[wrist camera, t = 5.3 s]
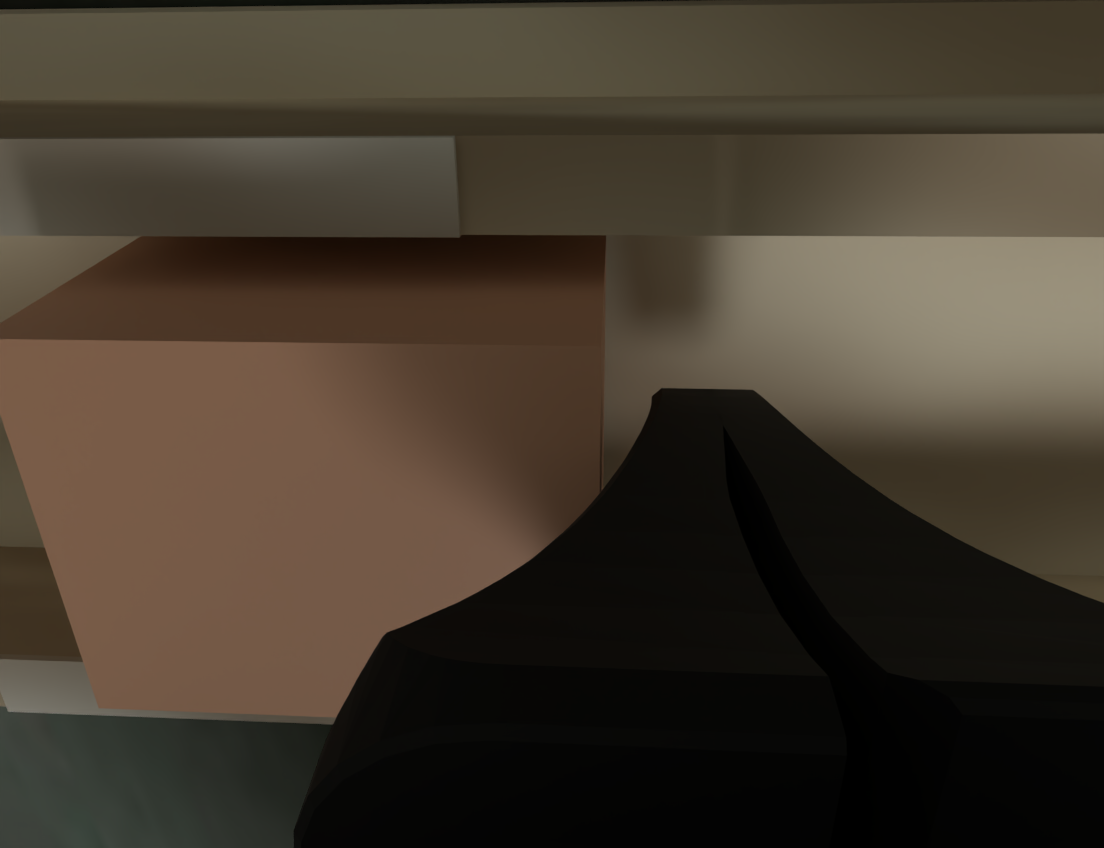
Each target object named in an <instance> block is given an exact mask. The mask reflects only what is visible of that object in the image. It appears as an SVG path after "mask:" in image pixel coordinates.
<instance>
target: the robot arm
mask: <svg viewBox="0 0 1104 848" xmlns="http://www.w3.org/2000/svg"><path fill="white" fill-rule="evenodd" d="M294 848H1104V603H1103V602H1100V601H1097V600H1095V599H1092V598H1089V597H1086V596H1084V595H1081V594H1079V593H1076V592H1074V591H1071V590H1069V589H1066V588H1064V587H1061V586H1059V585H1056V584H1054V583H1051V582H1049V581H1046V580H1044V579H1041V578H1039V577H1037V576H1035V575H1033V574H1030V573H1028V572H1026V571H1024V570H1022V569H1019V568H1017V567H1015V566H1013V565H1011V564H1008V563H1006V562H1004V561H1002V560H1000V559H997V558H995V557H993V556H991V555H989V554H986V553H984V552H982V551H980V550H979V549H977V548H975V547H973V546H971V545H969V544H967V543H965V542H963V541H961V540H959V539H957V538H955V537H953V536H952V535H950V534H948V533H946V532H945V531H943V530H941V529H939V528H938V527H936V526H934V525H932V524H931V523H929V522H927V521H925V520H924V519H922V518H920V517H918V516H917V515H915V514H913V513H911V512H910V511H908V510H907V509H905V508H903V507H902V506H900V505H899V504H897V503H895V502H894V501H892V500H891V499H889V498H888V497H886V496H885V495H883V494H882V493H881V492H879V491H878V490H876V489H875V488H874V487H872V486H871V485H869V484H868V483H866V482H865V481H864V480H862V479H861V478H859V477H858V476H857V475H855V474H854V473H852V472H851V471H850V470H848V469H847V468H846V467H845V466H843V465H842V464H841V463H839V462H838V461H837V460H835V459H834V458H833V457H832V456H830V455H829V454H828V453H827V452H825V451H824V450H823V449H822V448H821V447H819V446H818V445H817V444H816V443H815V442H813V441H812V440H811V439H810V438H809V437H807V436H806V435H805V434H804V433H803V432H802V431H800V430H799V429H798V428H797V427H796V426H795V425H794V424H792V423H791V422H790V421H789V420H788V419H787V418H786V417H784V416H783V415H782V414H781V413H780V412H779V411H778V410H777V409H776V408H774V407H773V406H772V405H771V404H770V403H769V402H768V401H766V400H765V399H764V398H763V397H762V396H761V395H759V394H758V393H757V392H755V391H754V390H744V389H688V388H661V389H660V390H659V391H657V392H656V393H655V394H654V395H653V396H652V400H651V408H650V412H649V414H648V417H647V419H646V421H645V424H644V426H643V428H642V430H641V432H640V434H639V436H638V437H637V439H636V441H635V443H634V444H633V446H632V448H631V450H630V451H629V453H628V455H627V456H626V458H625V460H624V461H623V463H622V464H621V465H620V467H619V468H618V470H617V471H616V472H615V474H614V475H613V476H612V478H611V479H610V480H609V482H608V483H607V484H606V486H605V487H604V488H603V490H602V491H601V492H600V494H599V495H598V496H597V497H596V498H595V500H594V501H593V502H592V503H591V504H590V505H589V506H588V508H587V509H586V510H585V511H584V512H583V513H582V514H581V515H580V516H579V517H578V518H577V519H576V520H575V521H574V522H573V523H572V524H571V525H570V526H569V527H568V528H567V529H566V530H565V531H564V532H563V533H562V534H560V535H559V536H558V537H557V538H556V539H555V540H553V541H552V542H551V543H550V544H549V545H548V546H546V547H545V548H544V549H543V550H542V551H541V552H539V553H538V554H537V555H536V556H535V557H533V558H532V559H531V560H529V561H528V562H526V563H525V564H524V565H522V566H520V567H519V568H517V569H516V570H514V571H513V572H511V573H509V574H508V575H506V576H505V577H503V578H502V579H500V580H498V581H496V582H495V583H493V584H491V585H489V586H488V587H486V588H484V589H482V590H480V591H479V592H477V593H475V594H473V595H471V596H469V597H467V598H465V599H463V600H461V601H460V602H458V603H455V604H453V605H451V606H448V607H446V608H444V609H442V610H439V611H437V612H435V613H432V614H430V615H428V616H426V617H423V618H421V619H419V620H416V621H414V622H412V623H410V624H407V625H405V626H403V627H400V628H397V629H395V630H392V631H389V632H387V633H386V634H385V635H384V636H383V637H382V638H381V640H380V641H379V643H378V645H377V646H376V648H375V649H374V651H373V653H372V654H371V656H370V658H369V659H368V661H367V663H366V665H365V666H364V668H363V670H362V671H361V673H360V675H359V676H358V678H357V680H356V682H355V684H354V686H353V687H352V689H351V691H350V693H349V695H348V697H347V699H346V700H345V702H344V704H343V706H342V707H341V709H340V711H339V713H338V715H337V717H336V719H335V721H334V724H333V726H332V728H331V730H330V732H329V734H328V736H327V739H326V741H325V744H324V747H323V749H322V752H321V755H320V758H319V760H318V763H317V766H316V769H315V772H314V775H313V778H312V780H311V783H310V786H309V789H308V792H307V795H306V797H305V800H304V803H303V806H302V809H301V812H300V815H299V817H298V820H297V823H296V826H295V829H294Z"/></svg>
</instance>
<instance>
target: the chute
mask: <svg viewBox="0 0 1104 848" xmlns="http://www.w3.org/2000/svg"><path fill="white" fill-rule="evenodd" d="M461 235H606V300H605V377H604V454H603V488H604V487H605V486H606V484H607V483H608V482H609V480H610V479H611V478H612V476H613V475H614V474H615V472H616V471H617V470H618V468H619V467H620V465H621V464H622V463H623V461H624V460H625V458H626V456H627V455H628V453H629V451H630V450H631V448H632V446H633V444H634V443H635V441H636V439H637V437H638V436H639V434H640V432H641V430H642V428H643V426H644V424H645V421H646V419H647V417H648V414H649V412H650V408H651V400H652V396H653V395H654V394H655V393H656V392H657V391H659V390H660V389H661V388H688V389H744V390H754V391H755V392H757V393H758V394H759V395H761V396H762V397H763V398H764V399H765V400H766V401H768V402H769V403H770V404H771V405H772V406H773V407H774V408H776V409H777V410H778V411H779V412H780V413H781V414H782V415H783V416H784V417H786V418H787V419H788V420H789V421H790V422H791V423H792V424H794V425H795V426H796V427H797V428H798V429H799V430H800V431H802V432H803V433H804V434H805V435H806V436H807V437H809V438H810V439H811V440H812V441H813V442H815V443H816V444H817V445H818V446H819V447H821V448H822V449H823V450H824V451H825V452H827V453H828V454H829V455H830V456H832V457H833V458H834V459H835V460H837V461H838V462H839V463H841V464H842V465H843V466H845V467H846V468H847V469H848V470H850V471H851V472H852V473H854V474H855V475H857V476H858V477H859V478H861V479H862V480H864V481H865V482H866V483H868V484H869V485H871V486H872V487H874V488H875V489H876V490H878V491H879V492H881V493H882V494H883V495H885V496H886V497H888V498H889V499H891V500H892V501H894V502H895V503H897V504H899V505H900V506H902V507H903V508H905V509H907V510H908V511H910V512H911V513H913V514H915V515H917V516H918V517H920V518H922V519H924V520H925V521H927V522H929V523H931V524H932V525H934V526H936V527H938V528H939V529H941V530H943V531H945V532H946V533H948V534H950V535H952V536H953V537H955V538H957V539H959V540H961V541H963V542H965V543H967V544H969V545H971V546H973V547H975V548H977V549H979V550H980V551H982V552H984V553H986V554H989V555H991V556H993V557H995V558H997V559H1000V560H1002V561H1004V562H1006V563H1008V564H1011V565H1013V566H1015V567H1017V568H1019V569H1022V570H1024V571H1026V572H1028V573H1030V574H1033V575H1035V576H1037V577H1039V578H1041V579H1044V580H1046V581H1049V582H1051V583H1054V584H1056V585H1059V586H1061V587H1064V588H1066V589H1069V590H1071V591H1074V592H1076V593H1079V594H1081V595H1084V596H1086V597H1089V598H1092V599H1095V600H1097V601H1100V602H1103V603H1104V0H707V1H628V2H550V3H472V4H393V5H315V6H236V7H158V8H80V9H1V10H0V323H1V322H3V321H5V320H6V319H8V318H9V317H11V316H13V315H14V314H16V313H17V312H19V311H21V310H22V309H24V308H26V307H27V306H29V305H30V304H32V303H34V302H35V301H37V300H39V299H40V298H42V297H43V296H45V295H47V294H48V293H50V292H51V291H53V290H55V289H56V288H58V287H60V286H61V285H63V284H64V283H66V282H68V281H69V280H71V279H73V278H74V277H76V276H77V275H79V274H81V273H82V272H84V271H85V270H87V269H89V268H90V267H92V266H94V265H95V264H97V263H98V262H100V261H102V260H103V259H105V258H107V257H108V256H110V255H111V254H113V253H115V252H116V251H118V250H119V249H121V248H123V247H124V246H126V245H128V244H129V243H131V242H132V241H134V240H136V239H137V238H139V237H141V236H204V237H454V238H460V236H461ZM0 706H6V707H7V710H8V712H29V713H54V714H80V715H105V716H131V717H156V718H182V719H207V720H233V721H258V722H284V723H309V724H334V721H335V719H336V717H310V716H284V715H259V714H233V713H207V712H181V711H155V710H130V709H104V708H98V705H97V702H96V699H95V696H94V693H93V690H92V687H91V684H90V681H89V678H88V675H87V672H86V669H85V666H84V663H83V660H82V657H81V654H80V651H79V648H78V645H77V642H76V639H75V636H74V633H73V630H72V627H71V624H70V621H69V618H68V615H67V612H66V609H65V606H64V603H63V600H62V597H61V594H60V591H59V588H58V585H57V582H56V579H55V576H54V574H53V571H52V568H51V565H50V562H49V559H48V556H47V553H46V550H45V547H44V544H43V541H42V538H41V535H40V532H39V529H38V526H37V523H36V520H35V517H34V514H33V511H32V508H31V505H30V502H29V499H28V496H27V493H26V490H25V487H24V484H23V481H22V478H21V475H20V472H19V469H18V466H17V463H16V460H15V457H14V454H13V451H12V448H11V445H10V442H9V439H8V436H7V433H6V430H5V427H4V424H3V421H2V418H1V415H0Z"/></svg>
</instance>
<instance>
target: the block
mask: <svg viewBox="0 0 1104 848" xmlns="http://www.w3.org/2000/svg"><path fill="white" fill-rule="evenodd" d="M605 300H606V235H461V236H460V238H454V237H204V236H141V237H139V238H137V239H136V240H134V241H132V242H131V243H129V244H128V245H126V246H124V247H123V248H121V249H119V250H118V251H116V252H115V253H113V254H111V255H110V256H108V257H107V258H105V259H103V260H102V261H100V262H98V263H97V264H95V265H94V266H92V267H90V268H89V269H87V270H85V271H84V272H82V273H81V274H79V275H77V276H76V277H74V278H73V279H71V280H69V281H68V282H66V283H64V284H63V285H61V286H60V287H58V288H56V289H55V290H53V291H51V292H50V293H48V294H47V295H45V296H43V297H42V298H40V299H39V300H37V301H35V302H34V303H32V304H30V305H29V306H27V307H26V308H24V309H22V310H21V311H19V312H17V313H16V314H14V315H13V316H11V317H9V318H8V319H6V320H5V321H3V322H1V323H0V415H1V418H2V421H3V424H4V427H5V430H6V433H7V436H8V439H9V442H10V445H11V448H12V451H13V454H14V457H15V460H16V463H17V466H18V469H19V472H20V475H21V478H22V481H23V484H24V487H25V490H26V493H27V496H28V499H29V502H30V505H31V508H32V511H33V514H34V517H35V520H36V523H37V526H38V529H39V532H40V535H41V538H42V541H43V544H44V547H45V550H46V553H47V556H48V559H49V562H50V565H51V568H52V571H53V574H54V576H55V579H56V582H57V585H58V588H59V591H60V594H61V597H62V600H63V603H64V606H65V609H66V612H67V615H68V618H69V621H70V624H71V627H72V630H73V633H74V636H75V639H76V642H77V645H78V648H79V651H80V654H81V657H82V660H83V663H84V666H85V669H86V672H87V675H88V678H89V681H90V684H91V687H92V690H93V693H94V696H95V699H96V702H97V705H98V708H104V709H130V710H155V711H181V712H207V713H233V714H259V715H284V716H310V717H337V715H338V713H339V711H340V709H341V707H342V706H343V704H344V702H345V700H346V699H347V697H348V695H349V693H350V691H351V689H352V687H353V686H354V684H355V682H356V680H357V678H358V676H359V675H360V673H361V671H362V670H363V668H364V666H365V665H366V663H367V661H368V659H369V658H370V656H371V654H372V653H373V651H374V649H375V648H376V646H377V645H378V643H379V641H380V640H381V638H382V637H383V636H384V635H385V634H386V633H387V632H389V631H392V630H395V629H397V628H400V627H403V626H405V625H407V624H410V623H412V622H414V621H416V620H419V619H421V618H423V617H426V616H428V615H430V614H432V613H435V612H437V611H439V610H442V609H444V608H446V607H448V606H451V605H453V604H455V603H458V602H460V601H461V600H463V599H465V598H467V597H469V596H471V595H473V594H475V593H477V592H479V591H480V590H482V589H484V588H486V587H488V586H489V585H491V584H493V583H495V582H496V581H498V580H500V579H502V578H503V577H505V576H506V575H508V574H509V573H511V572H513V571H514V570H516V569H517V568H519V567H520V566H522V565H524V564H525V563H526V562H528V561H529V560H531V559H532V558H533V557H535V556H536V555H537V554H538V553H539V552H541V551H542V550H543V549H544V548H545V547H546V546H548V545H549V544H550V543H551V542H552V541H553V540H555V539H556V538H557V537H558V536H559V535H560V534H562V533H563V532H564V531H565V530H566V529H567V528H568V527H569V526H570V525H571V524H572V523H573V522H574V521H575V520H576V519H577V518H578V517H579V516H580V515H581V514H582V513H583V512H584V511H585V510H586V509H587V508H588V506H589V505H590V504H591V503H592V502H593V501H594V500H595V498H596V497H597V496H598V495H599V494H600V492H601V491H602V490H603V454H604V377H605Z"/></svg>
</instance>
